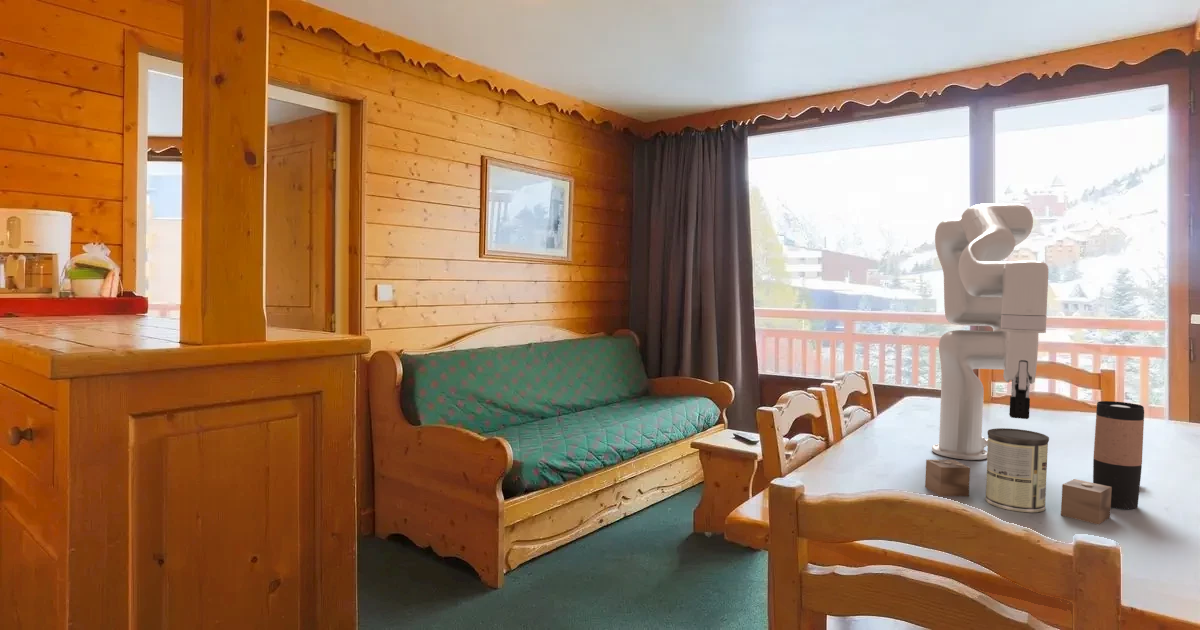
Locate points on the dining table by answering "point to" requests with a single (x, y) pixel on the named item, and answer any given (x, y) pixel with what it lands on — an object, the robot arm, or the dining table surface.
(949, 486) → the three-pip block
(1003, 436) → the coffee can
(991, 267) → the robot arm
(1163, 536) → the dining table surface
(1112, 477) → the travel mug
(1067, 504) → the one-pip block
